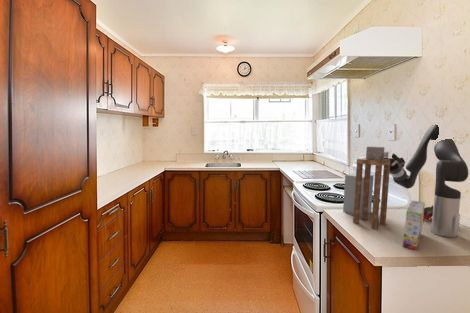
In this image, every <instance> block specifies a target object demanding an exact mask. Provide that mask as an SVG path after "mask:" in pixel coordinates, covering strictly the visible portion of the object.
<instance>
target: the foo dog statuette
mask: <svg viewBox="0 0 470 313" xmlns="http://www.w3.org/2000/svg"><path fill="white" fill-rule="evenodd" d="M432 216H433V205H431V206H428V207H427V206H426V207H424V215H423V222H424V221H425V219H427V220H429V219H430V220H431V221H432Z"/></svg>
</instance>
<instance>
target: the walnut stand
mask: <svg viewBox="0 0 470 313" xmlns="http://www.w3.org/2000/svg"><path fill="white" fill-rule="evenodd" d="M372 166H375V167H374V168H375V172H374V181H373V195H372V209H371V214H372V215H371V227H370V228H371V229H374V230H376V229H378V227H379V225H381V226H386V224H387V212H388V211H387V210H388V198H389V197H388V196H389V183H390V174H389V173H390V160H386V159H384V160H380V161H379V160H368V159H366V157H363V158H361V157H360V158H357V159H356V172H355V173H356V185H355V200H354V214H353V217H352V218H353V219H352V221H353V222H352V223H353V224H360V217H361V220H364V221H367V220H368V219H369V218H368V217H369V216H368V214H369V213H368V203H369V188H370V175H372V174H371V173H372V171H371V170H372ZM363 167H364V168H363ZM363 169H364V170H363ZM363 171H364V174H365V176H364V191H363V206H362V216H360V200H361V185H362V174H363ZM382 171H383V174H382ZM380 198H381V199H380ZM380 201H381V202H380ZM379 211H380V212H379ZM379 213H380V214H379Z"/></svg>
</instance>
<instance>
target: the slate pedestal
mask: <svg viewBox="0 0 470 313" xmlns="http://www.w3.org/2000/svg"><path fill="white" fill-rule="evenodd" d="M364 176H365V173H362V185H361V200H360V216H359V217H362V206H363V191H364ZM374 179H375V174H374V175H373V174H370V188H369V203H368V214H370V213H372V207H373V193H374ZM355 185H356V172H353V173H347V174H345V175H344V187H343V188H344V192H343V205H342V206H343V208H342V212H345V213H348V214H351V215H354V200H355Z"/></svg>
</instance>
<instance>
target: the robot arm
mask: <svg viewBox="0 0 470 313" xmlns="http://www.w3.org/2000/svg"><path fill="white" fill-rule="evenodd" d="M434 124H435V123H434ZM438 135H439V127H438V125H436V124H435V125H433V124H431V126H429V127H428V129H427V130H426V132H425V134H424V135H423V137H422V138H421V140H420V143H419V144H418V147H417V149H416V150H415V152H414V154H413V155H412V157H411V158H410V159H409V161H408V163H407V164H406V161H405V159H404V158H403V157H399V156H398V155H396V154H395V153H392V154H391V157H388V158H384V159H386V160H390V173H389V176H391V177H392V181H393V182H394V183H395V184H397V185H399V186H401V187H402V188H405V189H411V188H413V187H414V186H415V184H416V180H417V178H418V175H419V173H420V171H421V170H422V168H423V167H424V166H425V164H426V163H427V161H428V160H427V159H428V147H429V146H428V145H429V143H430V141H432V140H436V139H437V138H438ZM433 151H434V155H435V157H436V159H438V161H437V163H436V167H435V186H434V196H433V205H432V206H433V216H432V217H431V218H432V220H431V227H430V232H431V233H433V234H435V235H437V236H441V237H446V238H453V239H455V238H456V237H457V236H458V235H459V230H460V218H461V214H460V206H461V197H462V193H461V191H460V190H458V189H456V188H453V187H450V186H449V185H447V184H446V182H450V183H451V182H454V183H455V182H456V183H463V182H465V181H467V179H468V178H469V168H468V164H467V163H466V162H465V160H464V159H463V157H462V156H461V155H460V151H459V149H458V146H457V145H456V143H455V140H454V141H453V140H452V139H445V140H441V141H439V142H437V143H436V142H435V145H434V147H433ZM404 167H405V169H406V170H405V169H404ZM407 171H408V172H409V173H410V175H408V174H407Z"/></svg>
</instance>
